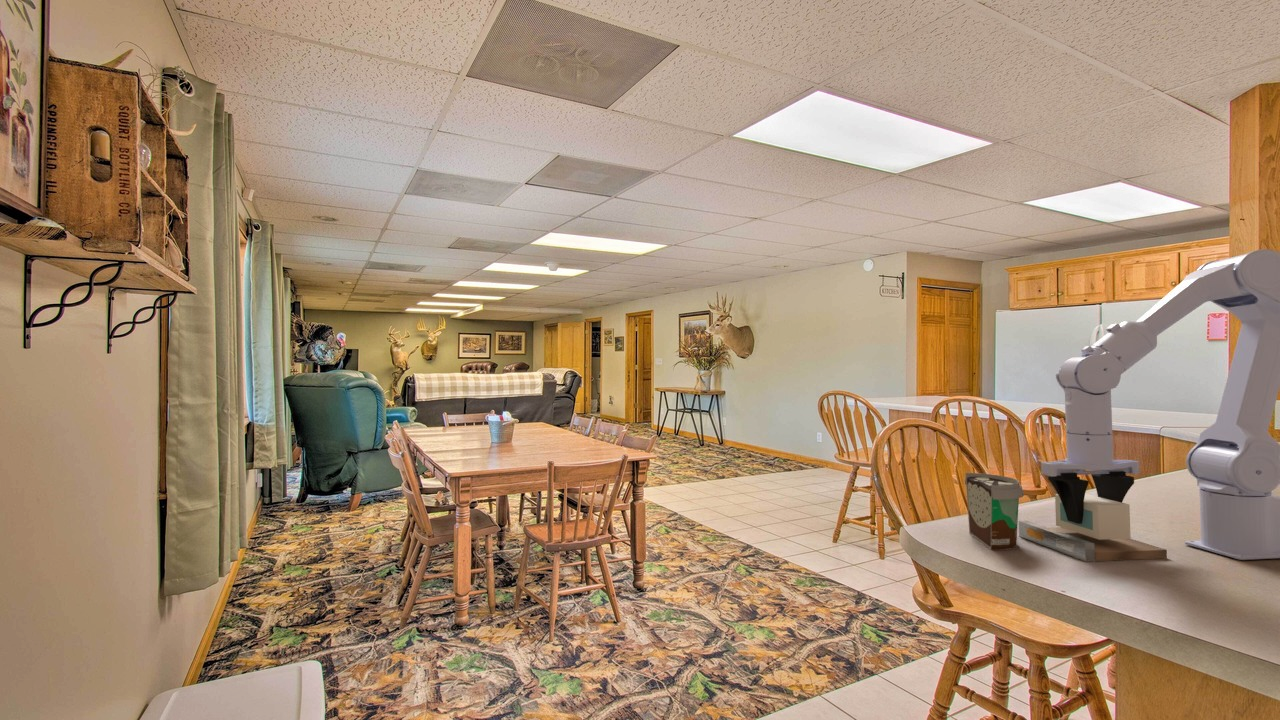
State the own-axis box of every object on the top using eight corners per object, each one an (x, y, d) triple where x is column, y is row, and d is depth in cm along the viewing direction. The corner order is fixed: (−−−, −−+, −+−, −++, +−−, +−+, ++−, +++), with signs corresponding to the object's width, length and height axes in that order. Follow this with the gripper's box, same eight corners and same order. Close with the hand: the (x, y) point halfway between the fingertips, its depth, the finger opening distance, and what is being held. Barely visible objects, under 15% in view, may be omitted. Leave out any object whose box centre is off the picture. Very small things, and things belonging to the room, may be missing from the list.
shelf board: (1090, 533, 96) (1089, 526, 96) (1166, 558, 83) (1166, 549, 83) (1027, 535, 96) (1027, 528, 96) (1095, 561, 83) (1095, 552, 83)
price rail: (1027, 535, 96) (1026, 520, 96) (1094, 561, 83) (1094, 543, 83) (1017, 536, 95) (1017, 521, 95) (1084, 561, 82) (1083, 543, 82)
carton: (1130, 538, 86) (1129, 504, 86) (1098, 539, 85) (1097, 505, 86) (1085, 524, 94) (1084, 493, 94) (1055, 525, 93) (1054, 494, 94)
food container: (1040, 554, 86) (1038, 486, 86) (995, 552, 87) (993, 485, 87) (1005, 532, 98) (1004, 472, 98) (966, 530, 99) (964, 472, 99)
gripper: (1109, 429, 94) (1112, 513, 94) (1025, 431, 93) (1028, 516, 93) (1151, 434, 87) (1154, 524, 87) (1060, 436, 86) (1063, 528, 86)
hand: (1091, 521), depth 90 cm, fingers closed on carton, 5 cm apart
